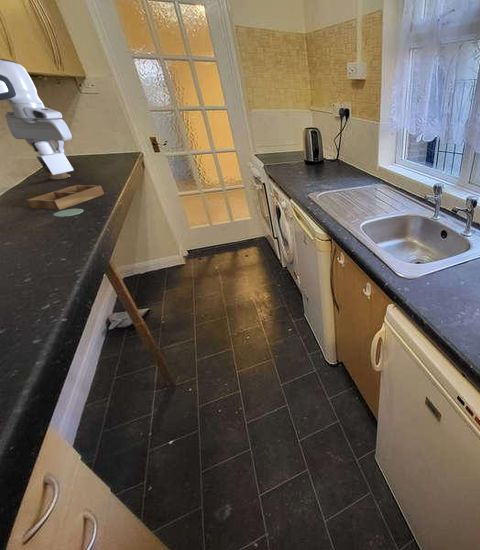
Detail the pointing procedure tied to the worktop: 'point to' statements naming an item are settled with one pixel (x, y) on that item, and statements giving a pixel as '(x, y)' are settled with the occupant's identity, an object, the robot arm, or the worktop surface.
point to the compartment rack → (65, 197)
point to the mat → (68, 212)
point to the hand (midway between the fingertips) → (50, 152)
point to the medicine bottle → (51, 158)
